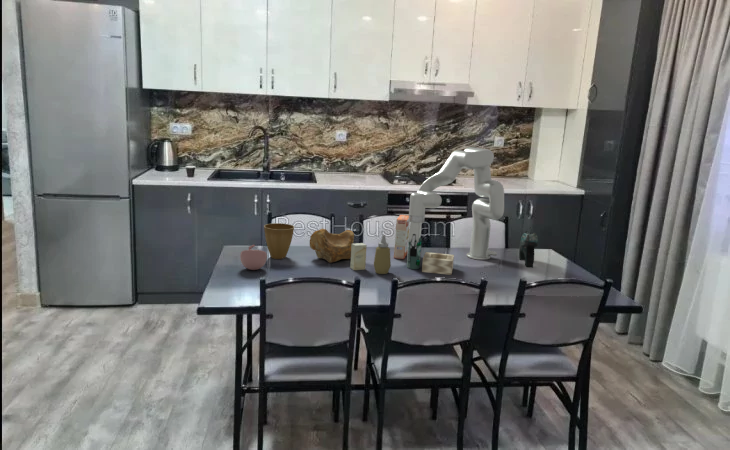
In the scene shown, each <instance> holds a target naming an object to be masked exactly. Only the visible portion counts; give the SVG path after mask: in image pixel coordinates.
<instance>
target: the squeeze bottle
mask: <svg viewBox="0 0 730 450" xmlns="http://www.w3.org/2000/svg"><path fill="white" fill-rule="evenodd" d="M386 240H387V239H386V235H384V234H382V235H381V238H380V241H379V242H378V246H376V248H375V252H374V253H375V254H374V259H373V268H374V272H375V273H376V274H379V275H386V274H388V273H389V271H390V268H391V267H392V266H391V265H392V264H391V248H390V247H389V242H387V241H386Z"/></svg>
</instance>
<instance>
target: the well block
mask: <svg viewBox="0 0 730 450" xmlns="http://www.w3.org/2000/svg"><path fill="white" fill-rule="evenodd" d="M454 257H455V254H448V253H439V252H427V251H425V253H424V254H423V257H422V264H421V272H422V273H429V274H430V273H431V274H439V275H440V274H441V275H447V276H452V273H453V269H454V259H455V258H454Z"/></svg>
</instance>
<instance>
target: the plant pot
mask: <svg viewBox="0 0 730 450" xmlns="http://www.w3.org/2000/svg"><path fill="white" fill-rule="evenodd" d="M263 228H264V229H263V230H264V236H265V238H264V239H265V242H266V246H267V250H268V253H269V256H270V258H271V259H276V260H282V259H283V260H284V259H286V258H287V256H288V255H287V254H288V251H289V250H290V247H291V243H292V239H293V237H294V231H295V226H294V225H293V224H289V223H282V222H281V223H279V222H278V223H275V222H273V223H267V224H264V225H263Z"/></svg>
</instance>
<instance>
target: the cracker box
mask: <svg viewBox="0 0 730 450" xmlns="http://www.w3.org/2000/svg"><path fill="white" fill-rule="evenodd" d="M395 223H396V225H395V237H394V248H393V249H394V252H393V258H394V259H397V260H398V259H400V260H404V259H405V258H406V256H407V255H408V239H409V229H410V222H409V214H399V216H398V217H397V218H396V222H395Z"/></svg>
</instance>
